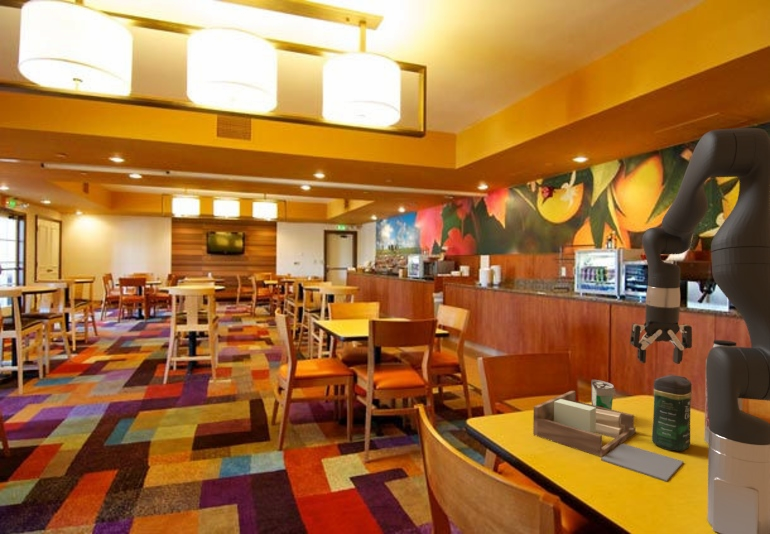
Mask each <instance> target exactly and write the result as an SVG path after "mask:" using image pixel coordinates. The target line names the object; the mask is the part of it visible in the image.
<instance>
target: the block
mask: <svg viewBox="0 0 770 534" xmlns="http://www.w3.org/2000/svg"><path fill="white" fill-rule="evenodd" d="M554 422H557V423H561V424H564V425H568V426H571V427H574V428H578V429H581V430H585V431H588V432H592V433H595V434H597V433H596V407H592V406H588V405H584V404H580V403H576V402H572V401H567V400H563V399H559V400H557V401H554Z"/></svg>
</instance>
